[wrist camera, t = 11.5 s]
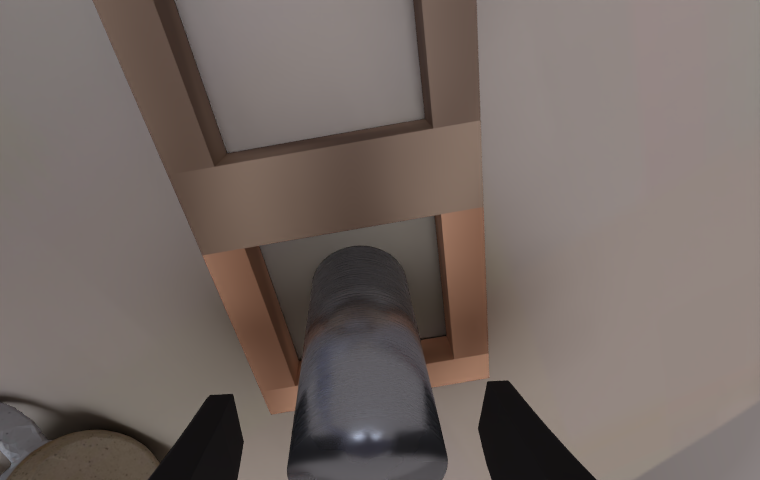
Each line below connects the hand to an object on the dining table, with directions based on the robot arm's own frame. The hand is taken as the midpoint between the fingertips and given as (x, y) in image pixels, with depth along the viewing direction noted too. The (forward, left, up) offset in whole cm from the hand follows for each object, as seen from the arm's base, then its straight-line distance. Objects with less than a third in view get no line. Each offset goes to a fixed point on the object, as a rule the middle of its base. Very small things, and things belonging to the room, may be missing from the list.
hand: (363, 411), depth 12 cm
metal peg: (0, 0, -6) cm, 6 cm away
